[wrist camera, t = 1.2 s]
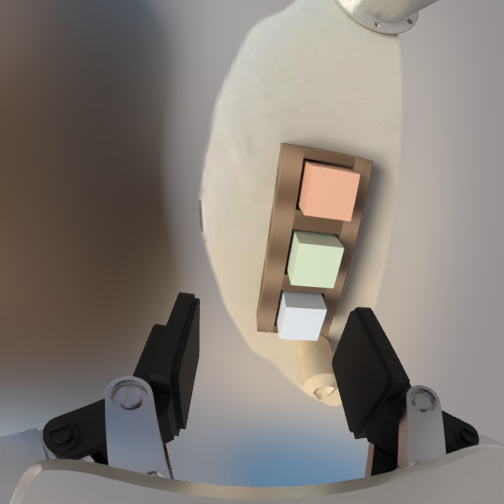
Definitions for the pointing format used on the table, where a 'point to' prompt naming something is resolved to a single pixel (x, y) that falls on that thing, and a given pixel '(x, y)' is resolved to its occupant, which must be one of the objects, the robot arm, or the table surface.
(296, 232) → the sage button
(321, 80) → the table surface
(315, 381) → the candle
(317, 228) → the button panel
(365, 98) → the table surface
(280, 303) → the greyblue button
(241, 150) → the table surface
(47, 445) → the robot arm
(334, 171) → the terracotta button
